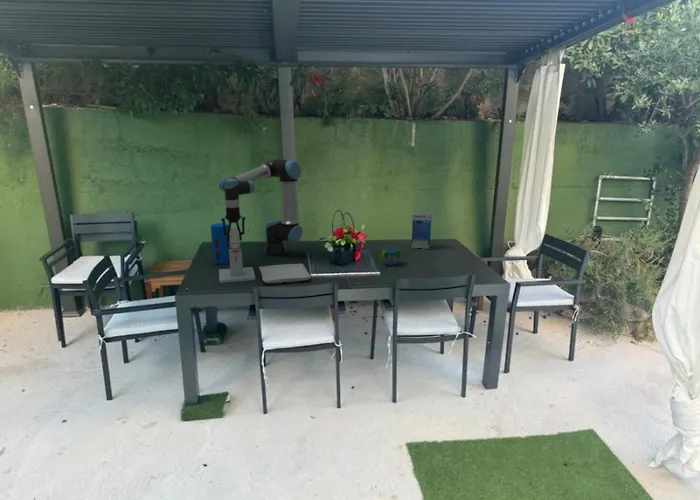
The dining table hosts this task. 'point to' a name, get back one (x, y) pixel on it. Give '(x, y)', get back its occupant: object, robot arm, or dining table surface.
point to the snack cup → (390, 255)
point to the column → (234, 239)
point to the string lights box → (421, 230)
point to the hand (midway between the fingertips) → (235, 246)
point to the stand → (236, 269)
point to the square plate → (284, 273)
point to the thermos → (220, 244)
